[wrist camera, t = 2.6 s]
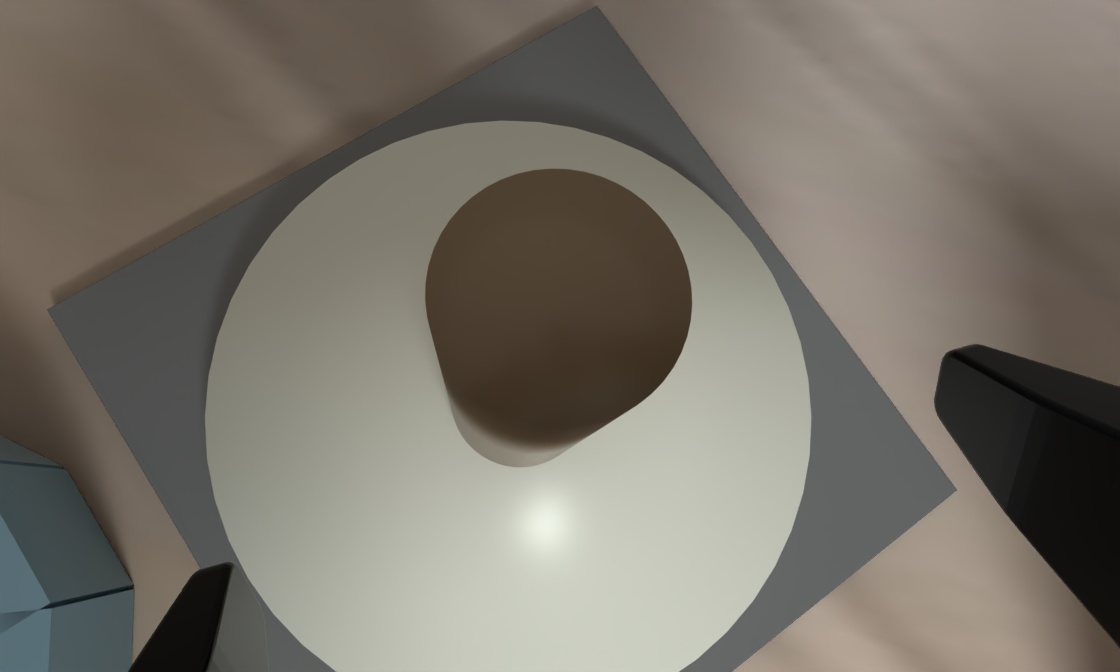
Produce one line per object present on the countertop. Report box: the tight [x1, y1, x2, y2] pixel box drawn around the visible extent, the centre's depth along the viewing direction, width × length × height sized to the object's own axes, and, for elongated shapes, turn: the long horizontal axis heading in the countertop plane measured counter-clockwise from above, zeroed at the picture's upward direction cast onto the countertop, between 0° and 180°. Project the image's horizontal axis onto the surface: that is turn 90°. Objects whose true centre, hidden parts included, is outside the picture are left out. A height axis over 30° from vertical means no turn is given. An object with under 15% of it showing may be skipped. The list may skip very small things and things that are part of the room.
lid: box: [205, 121, 811, 672], centre depth 14 cm, size 14×14×10 cm
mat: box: [47, 6, 957, 672], centre depth 19 cm, size 16×16×1 cm
